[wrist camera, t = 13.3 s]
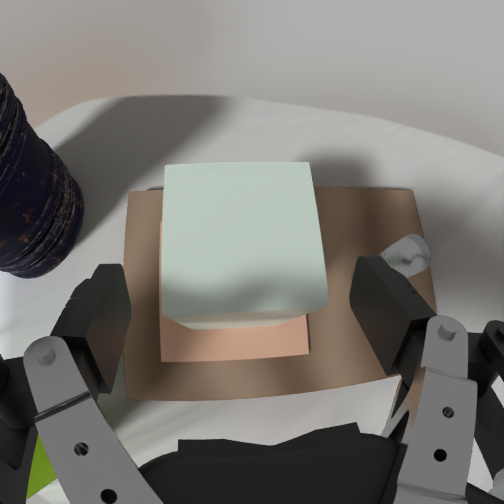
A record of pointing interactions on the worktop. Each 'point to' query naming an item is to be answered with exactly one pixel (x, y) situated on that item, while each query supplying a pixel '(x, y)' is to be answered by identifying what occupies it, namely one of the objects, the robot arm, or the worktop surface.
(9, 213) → the dark blue ridged cylinder
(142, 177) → the worktop surface
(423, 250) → the steel post
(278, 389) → the walnut board
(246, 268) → the pale mint tall block
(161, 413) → the worktop surface
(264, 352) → the terracotta pad
